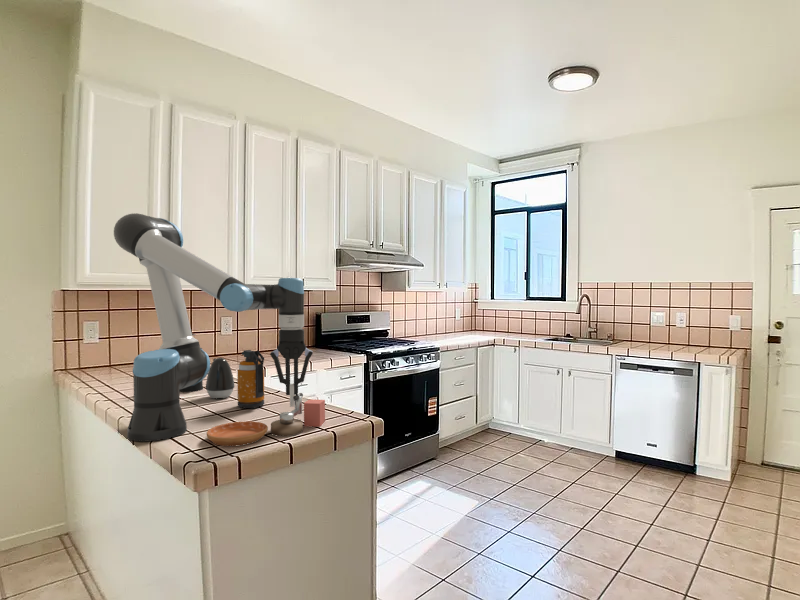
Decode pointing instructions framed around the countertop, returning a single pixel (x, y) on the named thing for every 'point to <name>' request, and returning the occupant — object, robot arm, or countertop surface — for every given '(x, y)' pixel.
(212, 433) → the saucer
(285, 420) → the crank
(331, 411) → the countertop surface
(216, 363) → the black rounded egg shape
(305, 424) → the block
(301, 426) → the hub plate
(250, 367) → the canister
